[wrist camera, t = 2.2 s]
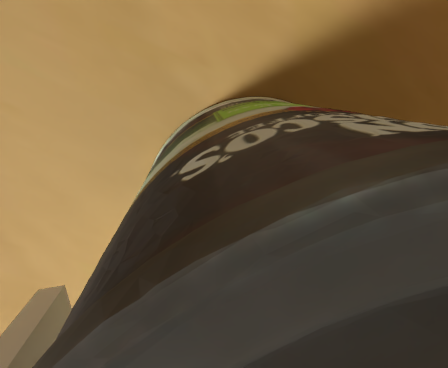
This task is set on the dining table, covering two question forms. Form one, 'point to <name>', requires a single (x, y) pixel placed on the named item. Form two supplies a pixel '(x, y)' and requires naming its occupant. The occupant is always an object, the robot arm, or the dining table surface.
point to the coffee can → (275, 248)
